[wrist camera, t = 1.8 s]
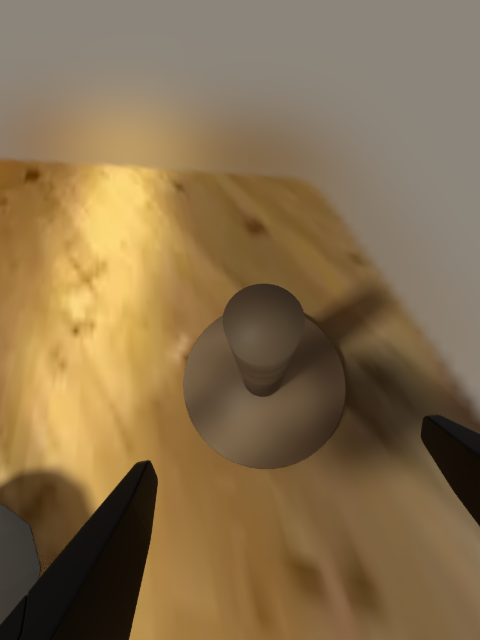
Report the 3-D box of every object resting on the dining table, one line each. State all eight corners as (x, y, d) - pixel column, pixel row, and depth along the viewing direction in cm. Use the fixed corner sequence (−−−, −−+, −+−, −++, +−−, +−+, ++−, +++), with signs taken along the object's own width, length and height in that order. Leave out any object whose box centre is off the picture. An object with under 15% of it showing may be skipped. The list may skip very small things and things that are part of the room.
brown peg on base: (377, 397, 19) (537, 354, 8) (243, 508, 17) (211, 657, 6) (275, 284, 24) (287, 159, 13) (159, 361, 21) (53, 291, 10)
